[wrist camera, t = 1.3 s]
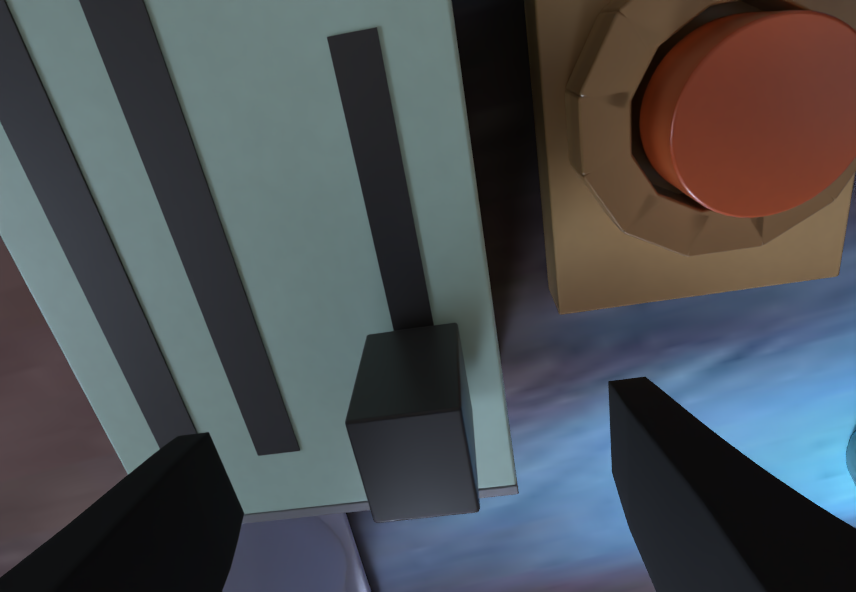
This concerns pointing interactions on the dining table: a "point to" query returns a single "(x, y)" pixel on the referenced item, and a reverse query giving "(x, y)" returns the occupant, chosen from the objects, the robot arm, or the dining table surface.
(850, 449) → the cupcake
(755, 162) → the red stop button
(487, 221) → the dining table surface
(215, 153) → the toaster
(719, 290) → the push button base
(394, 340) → the slider
